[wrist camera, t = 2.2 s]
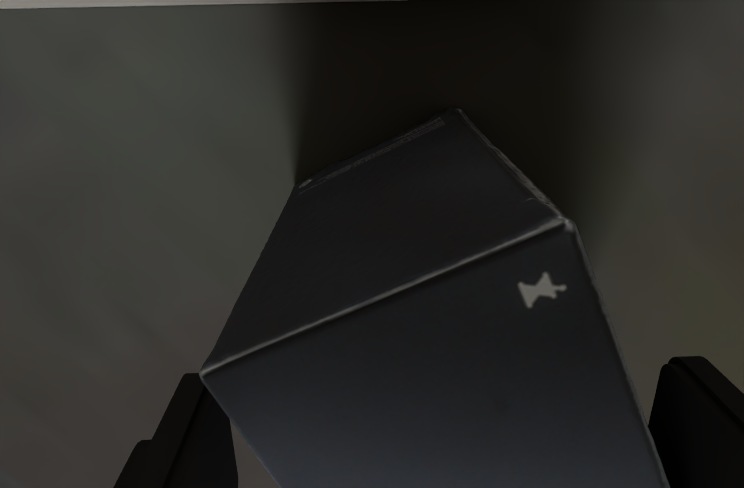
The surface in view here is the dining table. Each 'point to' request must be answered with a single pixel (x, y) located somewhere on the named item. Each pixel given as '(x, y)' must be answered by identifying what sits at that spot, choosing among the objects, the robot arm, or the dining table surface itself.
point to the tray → (143, 2)
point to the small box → (429, 332)
